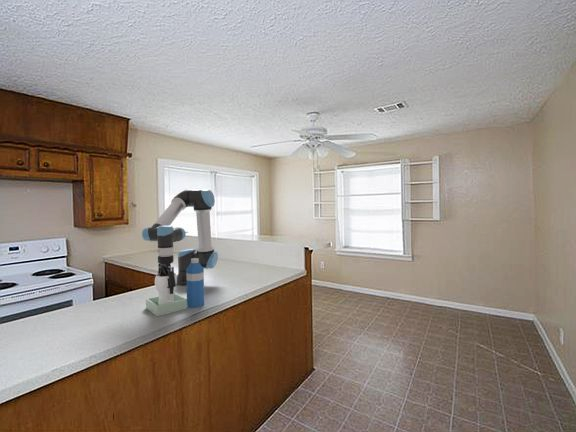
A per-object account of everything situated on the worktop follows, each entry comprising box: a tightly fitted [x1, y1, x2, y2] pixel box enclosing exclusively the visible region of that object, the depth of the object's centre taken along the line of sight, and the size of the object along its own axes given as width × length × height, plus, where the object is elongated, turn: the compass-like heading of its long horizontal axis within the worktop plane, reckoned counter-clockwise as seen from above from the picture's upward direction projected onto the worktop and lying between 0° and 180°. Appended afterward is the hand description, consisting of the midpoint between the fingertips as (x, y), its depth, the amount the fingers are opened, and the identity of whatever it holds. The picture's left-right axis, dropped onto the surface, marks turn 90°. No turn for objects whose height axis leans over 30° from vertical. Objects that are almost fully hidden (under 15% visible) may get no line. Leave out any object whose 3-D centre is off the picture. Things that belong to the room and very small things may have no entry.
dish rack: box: [145, 292, 188, 317], centre depth 151 cm, size 15×15×5 cm
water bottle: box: [186, 258, 205, 309], centre depth 156 cm, size 9×9×25 cm
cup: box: [154, 272, 177, 305], centre depth 151 cm, size 11×11×15 cm
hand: (166, 297), depth 151 cm, fingers closed on cup, 10 cm apart
